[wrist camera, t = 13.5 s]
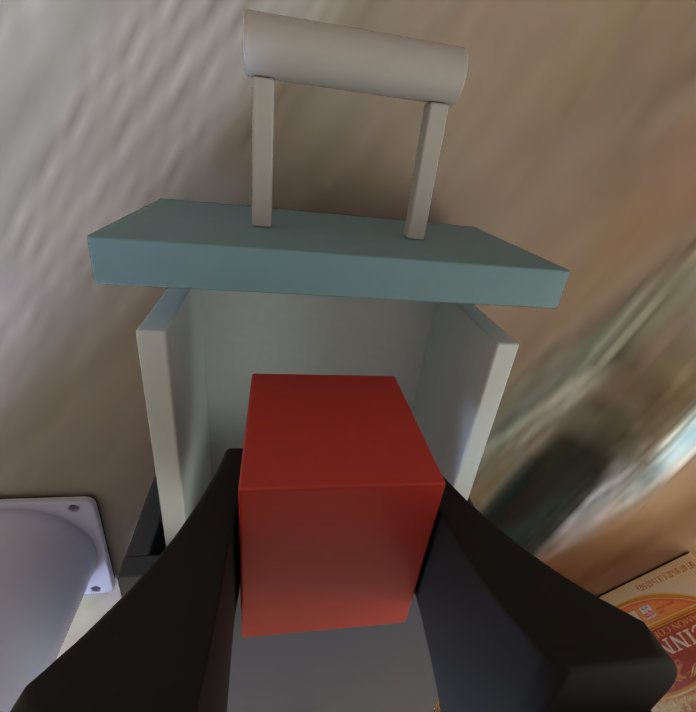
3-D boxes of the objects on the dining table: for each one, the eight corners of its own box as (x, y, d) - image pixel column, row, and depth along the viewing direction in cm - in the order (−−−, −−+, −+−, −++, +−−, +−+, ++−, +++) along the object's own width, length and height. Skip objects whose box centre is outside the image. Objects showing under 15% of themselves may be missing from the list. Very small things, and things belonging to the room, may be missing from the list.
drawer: (142, 23, 13) (29, -73, 7) (509, 82, 15) (653, 47, 9) (187, 481, 22) (153, 608, 16) (414, 475, 24) (457, 584, 18)
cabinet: (174, 422, 21) (116, 577, 14) (430, 422, 24) (499, 552, 16) (193, 604, 28) (162, 771, 21) (389, 589, 31) (424, 733, 23)
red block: (251, 499, 14) (241, 639, 10) (252, 372, 12) (238, 489, 8) (373, 495, 15) (406, 623, 11) (395, 375, 13) (447, 483, 9)
